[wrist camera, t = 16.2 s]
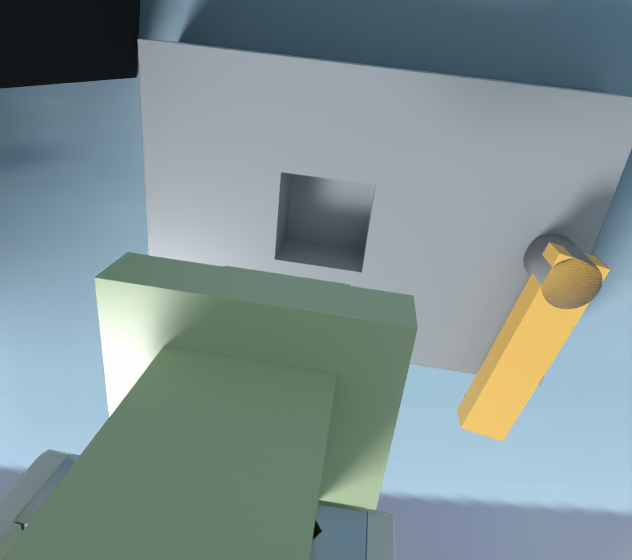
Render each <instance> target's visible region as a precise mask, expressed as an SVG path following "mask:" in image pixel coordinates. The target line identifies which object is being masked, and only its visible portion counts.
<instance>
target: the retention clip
mask: <svg viewBox="0 0 632 560" xmlns="http://www.w3.org/2000/svg"><path fill="white" fill-rule="evenodd" d="M523 262H524V267H525V269H526V271H527V273H528V274H529V276H530V278H529V280H528V282H527V283H526V285H525V287H524V289H523V291H522V293H521V294H520V296H519V298H518V300H517V302H516V304H515V305H514V307H513V309H512V311H511V313H510V315H509V316H508V318H507V320H506V322H505V324H504V326H503V327H502V329H501V331H500V333H499V335H498V336H497V338H496V340H495V342H494V344H493V346H492V347H491V349H490V351H489V353H488V355H487V357H486V358H485V360H484V362H483V364H482V366H481V368H480V369H479V371H478V373H477V375H476V377H475V379H474V380H473V382H472V384H471V386H470V388H469V390H468V391H467V393H466V395H465V397H464V399H463V400H462V402H461V404H460V406H459V408H458V410H457V411H458V416H459V421H460V426H461V428H462V429H465V430H468V431H472V432H475V433H478V434H481V435H484V436H487V437H491V438H494V439H497V440H500V441H503V440H504V438H505V437H506V435H507V433H508V432H509V430H510V429H511V427H512V426H513V424H514V422H515V421H516V419H517V418H518V416H519V414H520V413H521V411H522V410H523V408H524V406H525V405H526V403H527V402H528V400H529V398H530V397H531V395H532V394H533V392H534V390H535V389H536V387H537V386H538V384H539V383H540V381H541V379H542V378H543V376H544V375H545V373H546V371H547V370H548V368H549V367H550V365H551V363H552V362H553V360H554V359H555V357H556V355H557V354H558V352H559V351H560V349H561V347H562V346H563V344H564V343H565V341H566V340H567V338H568V336H569V335H570V333H571V332H572V330H573V328H574V327H575V325H576V324H577V322H578V320H579V319H580V317H581V316H582V314H583V312H584V311H585V309H586V308H587V306H588V304H589V303H590V301H591V300H593V299H594V298H595V297H596V295H597V294H598V292H599V291H600V288H601V285H602V282H603V281H604V279H605V277H606V276H607V274H608V273H609V271H610V269H609V268H608V267H607V266H606V265H605V264H604V263H603V262H602V261H601V260H600V259H599V258H598V257H595V256H592V255H589V254H586V253H583V252H582V251H581V250H580V249H579V248H578V247H577V246H576V245H575V244H574V243H573V242H572V241H571V240H570V239H568V238H567V237H565V236H562V235H557V234H551V235H546V236H543V237H540V238H538V239H537V240H535V241H534V242H532V243H531V244H530V246H529V247H528V248H527V250H526V252H525V254H524V259H523Z"/></svg>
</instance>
